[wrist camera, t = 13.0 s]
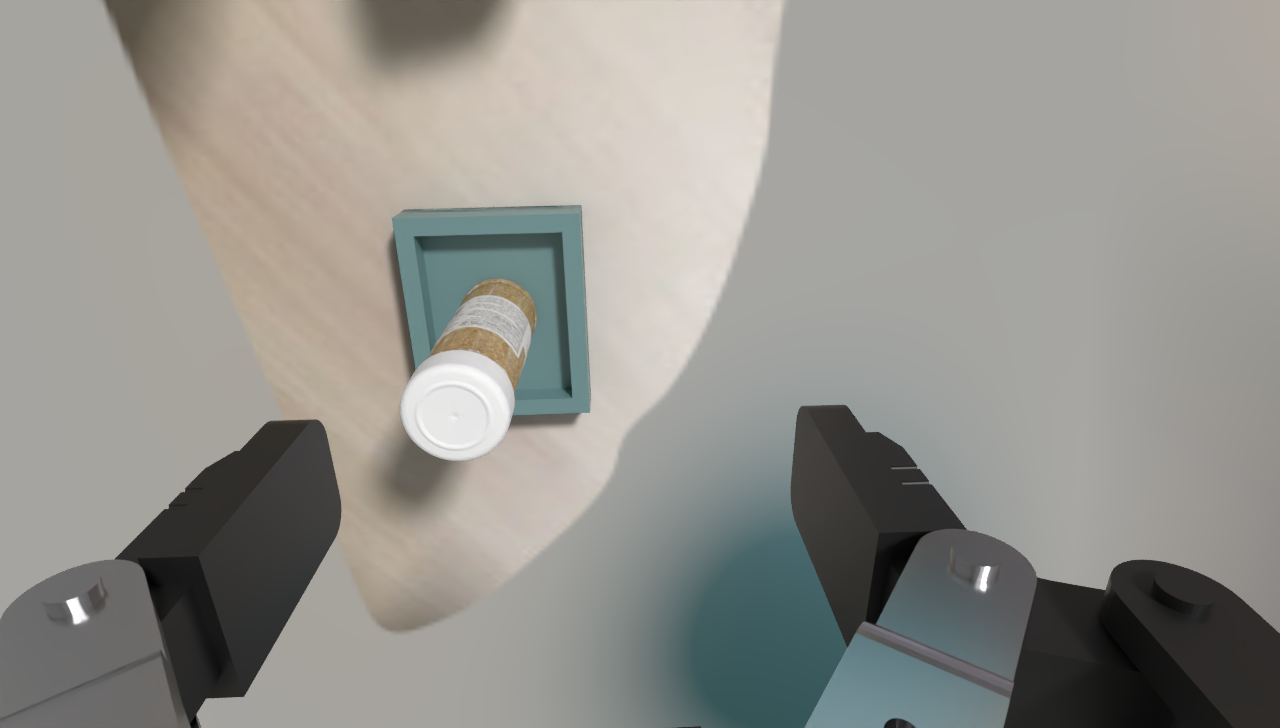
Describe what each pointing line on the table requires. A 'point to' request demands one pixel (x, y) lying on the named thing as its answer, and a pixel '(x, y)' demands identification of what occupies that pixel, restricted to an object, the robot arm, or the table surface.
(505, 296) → the sprinkles bottle
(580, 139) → the table surface
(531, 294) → the tray
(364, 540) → the table surface
